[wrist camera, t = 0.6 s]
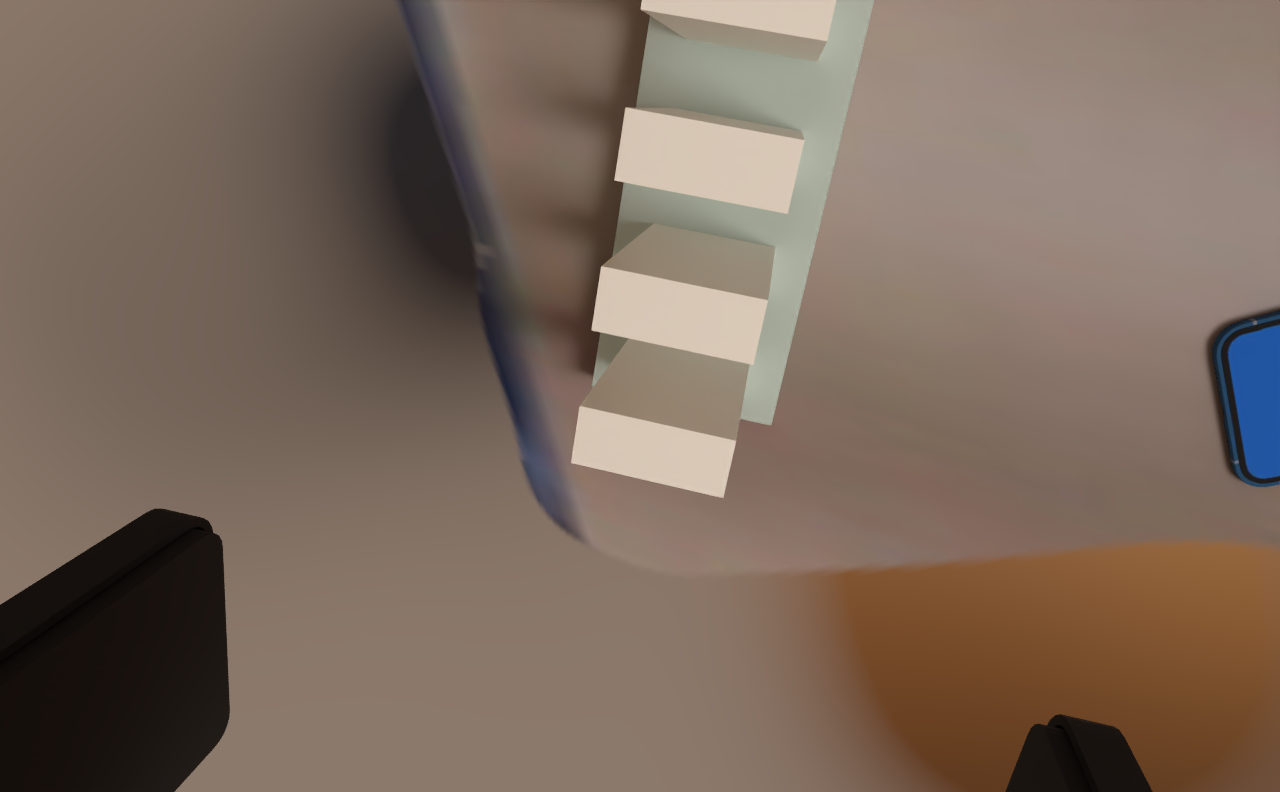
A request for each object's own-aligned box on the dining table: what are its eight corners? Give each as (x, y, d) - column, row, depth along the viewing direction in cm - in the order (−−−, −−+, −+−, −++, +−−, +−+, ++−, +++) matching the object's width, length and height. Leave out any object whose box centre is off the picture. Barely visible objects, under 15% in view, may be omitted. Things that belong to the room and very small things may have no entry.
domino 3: (654, 223, 34) (601, 266, 25) (775, 247, 33) (768, 300, 24) (646, 270, 35) (591, 330, 25) (764, 295, 34) (753, 365, 25)
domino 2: (674, 107, 32) (625, 107, 23) (801, 131, 32) (804, 140, 23) (665, 160, 33) (614, 180, 24) (789, 184, 33) (788, 213, 23)
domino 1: (695, -19, 31) (653, -75, 22) (830, 3, 30) (846, -44, 21) (685, 38, 32) (640, 9, 22) (817, 61, 31) (827, 41, 22)
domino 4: (636, 328, 36) (579, 405, 26) (751, 352, 35) (736, 440, 26) (628, 372, 36) (571, 462, 27) (741, 396, 36) (723, 498, 26)
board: (714, -358, 28) (711, -378, 27) (951, -330, 28) (958, -348, 26) (597, 377, 38) (591, 386, 37) (771, 415, 37) (771, 425, 36)
